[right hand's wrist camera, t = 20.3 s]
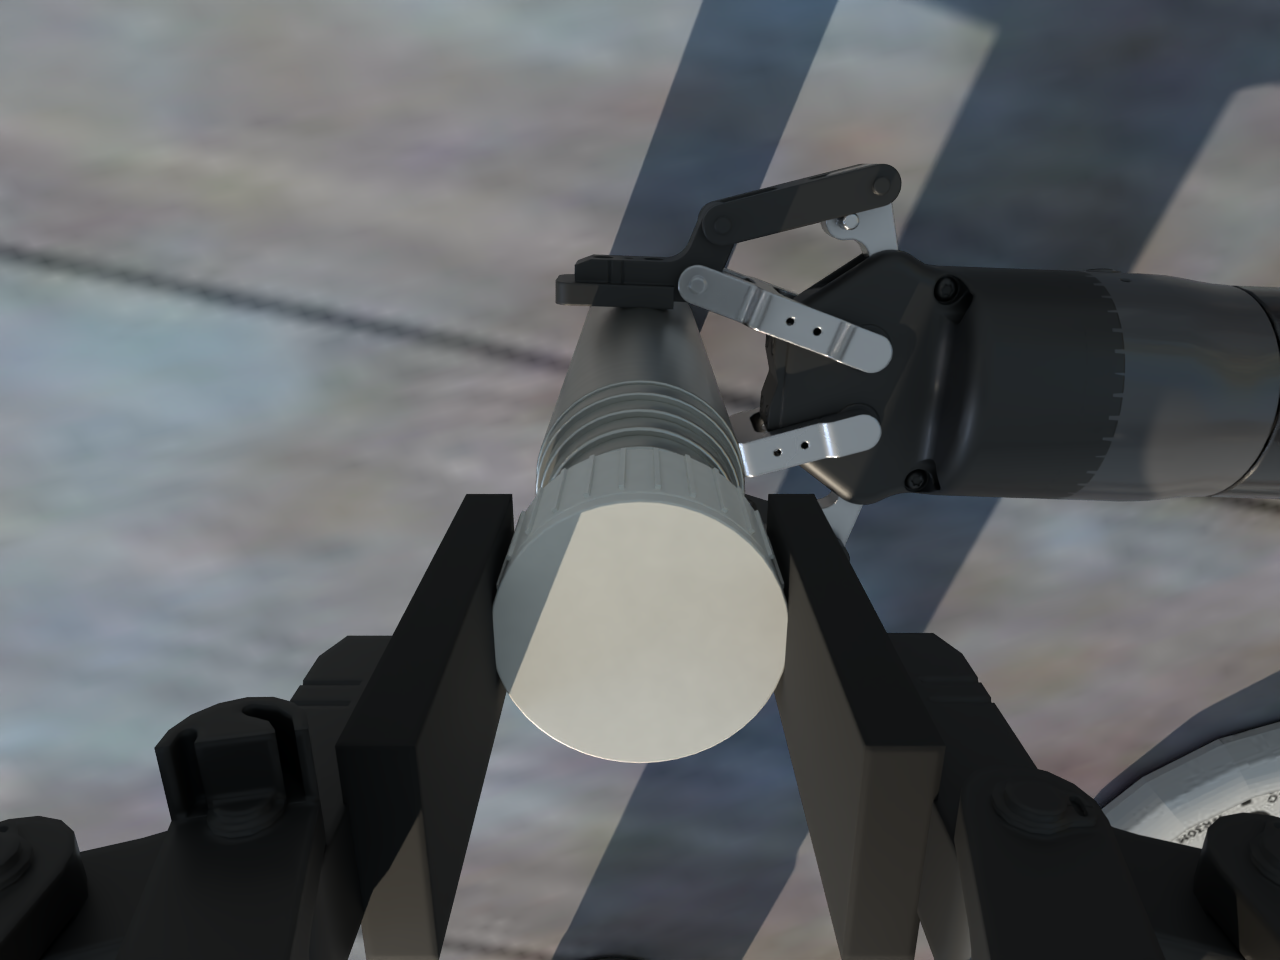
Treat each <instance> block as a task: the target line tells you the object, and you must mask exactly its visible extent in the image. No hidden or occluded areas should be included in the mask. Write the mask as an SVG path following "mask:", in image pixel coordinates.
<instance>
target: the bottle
mask: <svg viewBox="0 0 1280 960" xmlns="http://www.w3.org/2000/svg"><path fill="white" fill-rule="evenodd" d="M621 448H626V450H628V449H653V448H659V450H662V451H667V452H672V453H677V454H680V455H683V456H685V454H687V455H690V458H692V459H694V460H696V461H698V462H701V463H703V464H705V465H707V466H709V467H710V468H712V469H713V468H714V467H715V468H717V469H718V470H719V473H720V474H721V475H723V476H724V477H725V478H726V479H727V480H729V481H730V482H731V483H732V484H733V485H734V486H735V487H736V488H737V487H740V488H741V489H742V491H743V494H744V497H745V480H744V465H743V459H742V454H741V451H740V448H739V445H738V442H737V439H736V436H735V434H734V431H733V428H732V425H731V422H730V419H729V416H728V413H727V410H726V408H725V405H724V402H723V399H722V396H721V393H720V390H719V387H718V385H717V382H716V379H715V376H714V373H713V370H712V367H711V364H710V362H709V359H708V356H707V353H706V350H705V347H704V344H703V341H702V339H701V336H700V333H699V330H698V327H697V324H696V321H695V318H694V316H693V313H692V310H691V308H690V306H689V304H688V303H687V302H674V307H673V309H652V308H640V307H638V308H625V307H599V306H591V307H590V310H589V312H588V314H587V317H586V320H585V323H584V326H583V329H582V332H581V334H580V337H579V340H578V343H577V346H576V349H575V352H574V354H573V357H572V360H571V363H570V366H569V369H568V372H567V375H566V377H565V380H564V383H563V386H562V389H561V392H560V395H559V397H558V400H557V403H556V406H555V409H554V412H553V415H552V418H551V420H550V423H549V426H548V429H547V432H546V435H545V438H544V440H543V443H542V446H541V450H540V453H539V457H538V462H537V469H536V494H537V491H538V489H539V488H540V487H542V488H544V487H545V486H546V485H547V484H549V483H550V482H551V481H552V480H553V479H554V478H556V477H557V476H558V475H559V474H560V473H561V470H562V469H564V468H566V469H569V468H570V467H572V466H574V465H576V464H578V463H580V462H582V461H584V460H586V459H589V456H591V455H595V456H598V455H601V454H604V453H608V452H614V451H619V450H621Z"/></svg>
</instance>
